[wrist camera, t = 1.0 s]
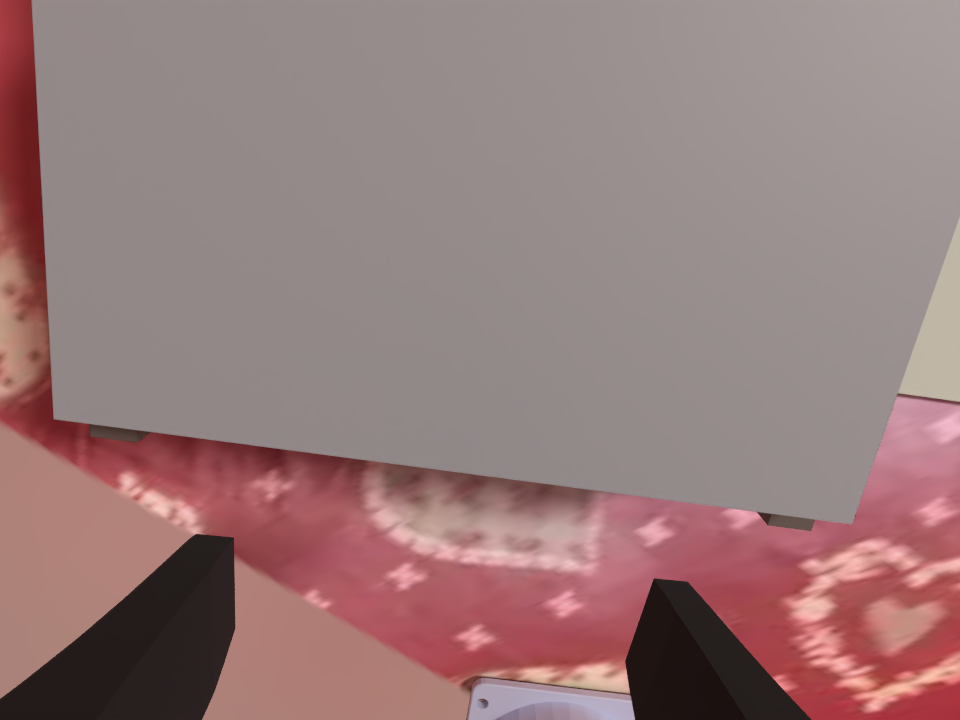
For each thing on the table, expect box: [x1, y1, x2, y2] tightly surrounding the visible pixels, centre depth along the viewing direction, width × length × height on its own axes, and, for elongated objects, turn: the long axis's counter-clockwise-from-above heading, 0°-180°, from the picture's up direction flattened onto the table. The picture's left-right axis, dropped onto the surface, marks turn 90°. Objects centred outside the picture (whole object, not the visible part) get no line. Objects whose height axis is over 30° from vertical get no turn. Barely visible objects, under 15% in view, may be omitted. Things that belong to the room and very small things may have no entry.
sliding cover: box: [32, 0, 960, 524], centre depth 14 cm, size 12×19×1 cm, turn 82°
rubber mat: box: [898, 217, 960, 402], centre depth 21 cm, size 9×9×1 cm
